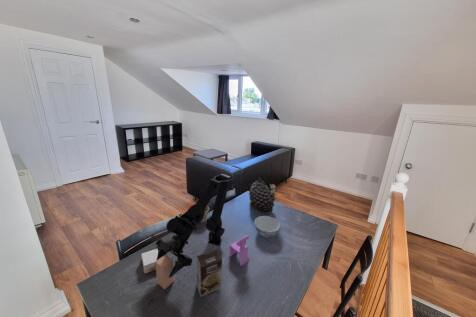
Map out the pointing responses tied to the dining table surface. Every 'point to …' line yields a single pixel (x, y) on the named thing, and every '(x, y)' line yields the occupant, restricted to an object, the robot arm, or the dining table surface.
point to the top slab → (149, 258)
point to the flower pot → (205, 214)
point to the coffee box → (209, 272)
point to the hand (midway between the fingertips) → (162, 271)
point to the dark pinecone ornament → (262, 196)
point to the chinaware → (267, 226)
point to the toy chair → (240, 249)
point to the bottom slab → (149, 269)
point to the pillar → (164, 271)
